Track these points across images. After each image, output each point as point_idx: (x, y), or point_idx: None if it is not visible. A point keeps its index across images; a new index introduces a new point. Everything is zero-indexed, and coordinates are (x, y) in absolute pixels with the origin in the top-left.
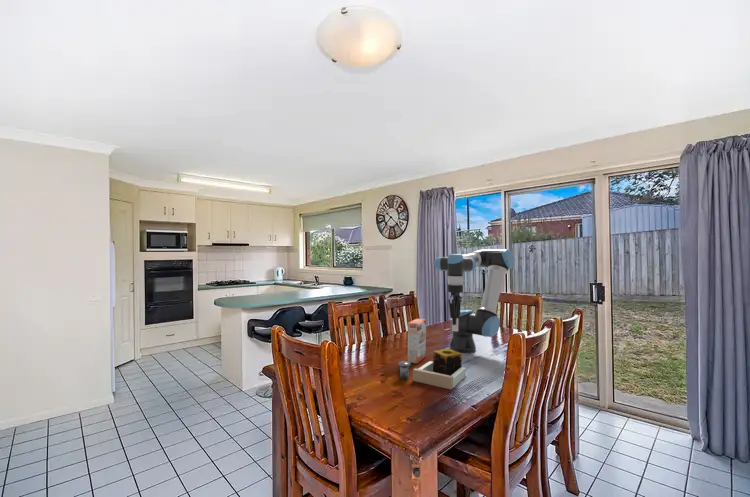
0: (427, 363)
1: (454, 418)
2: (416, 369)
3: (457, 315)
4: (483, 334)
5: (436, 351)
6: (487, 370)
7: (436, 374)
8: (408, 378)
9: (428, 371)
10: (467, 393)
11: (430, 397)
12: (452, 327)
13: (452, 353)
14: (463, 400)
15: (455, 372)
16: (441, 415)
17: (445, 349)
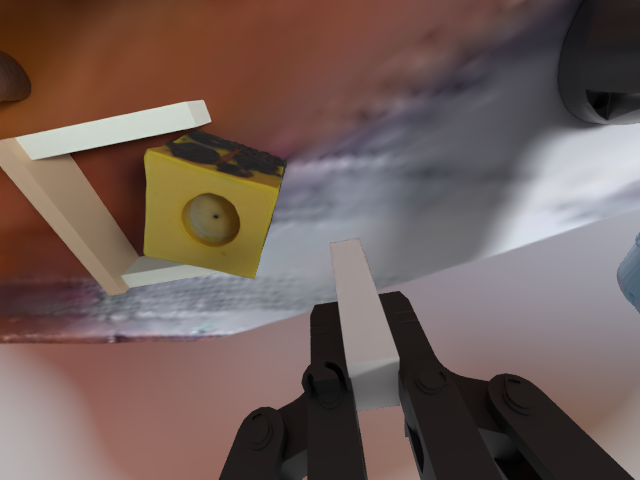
0: (145, 118)
1: (36, 339)
2: (2, 156)
3: (413, 448)
4: (636, 245)
5: (160, 171)
6: None
7: (72, 250)
8: (23, 99)
9: (55, 211)
10: (158, 305)
11: (32, 260)
12: (333, 267)
13: (217, 252)
14: (117, 316)
15: (181, 266)
16: (10, 321)
17: (244, 188)
